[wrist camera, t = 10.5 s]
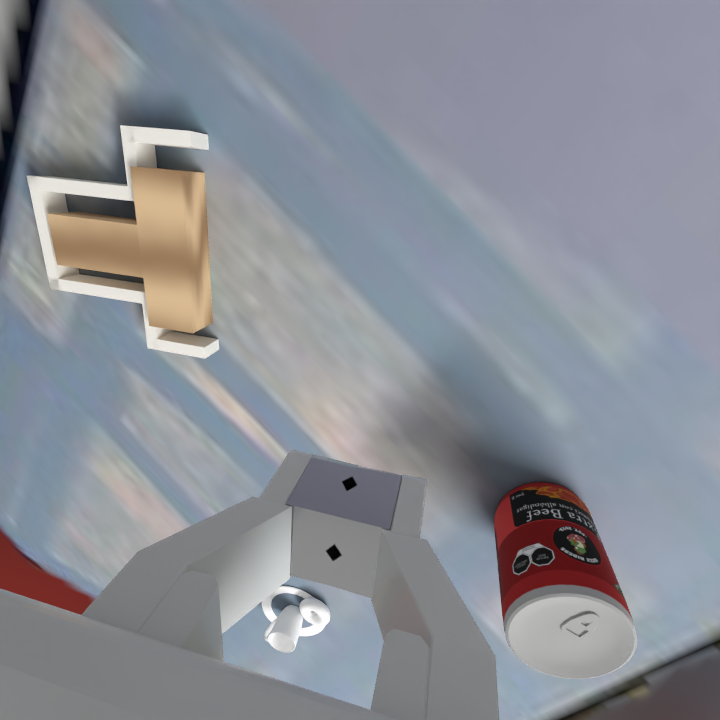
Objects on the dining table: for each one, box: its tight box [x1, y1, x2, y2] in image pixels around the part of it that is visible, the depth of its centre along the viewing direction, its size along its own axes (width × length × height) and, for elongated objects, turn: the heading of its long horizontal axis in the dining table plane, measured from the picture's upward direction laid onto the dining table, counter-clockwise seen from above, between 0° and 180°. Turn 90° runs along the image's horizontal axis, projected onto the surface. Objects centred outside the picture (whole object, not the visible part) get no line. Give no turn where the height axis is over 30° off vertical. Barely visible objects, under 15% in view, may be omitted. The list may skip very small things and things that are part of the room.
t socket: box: [27, 125, 219, 358], centre depth 34 cm, size 17×14×2 cm
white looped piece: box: [262, 586, 330, 652], centre depth 47 cm, size 9×8×4 cm
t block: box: [47, 166, 213, 333], centre depth 34 cm, size 12×12×3 cm
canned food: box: [494, 482, 637, 679], centre depth 31 cm, size 8×8×11 cm
